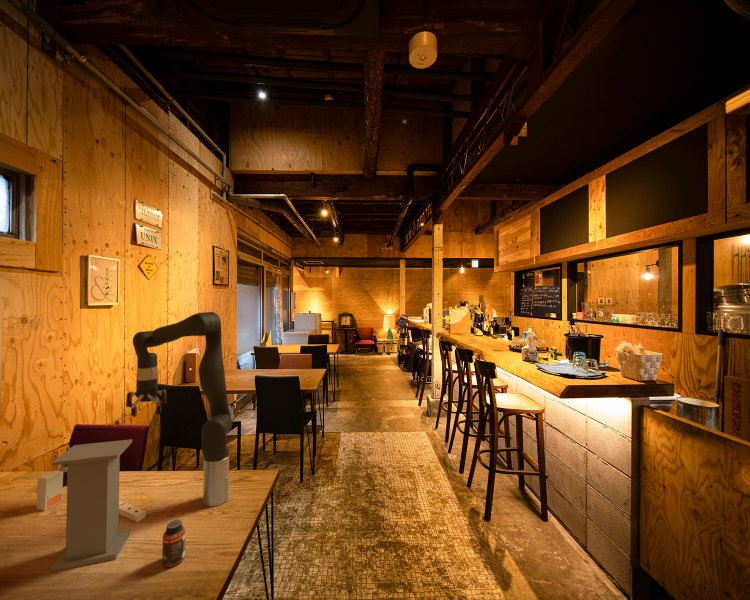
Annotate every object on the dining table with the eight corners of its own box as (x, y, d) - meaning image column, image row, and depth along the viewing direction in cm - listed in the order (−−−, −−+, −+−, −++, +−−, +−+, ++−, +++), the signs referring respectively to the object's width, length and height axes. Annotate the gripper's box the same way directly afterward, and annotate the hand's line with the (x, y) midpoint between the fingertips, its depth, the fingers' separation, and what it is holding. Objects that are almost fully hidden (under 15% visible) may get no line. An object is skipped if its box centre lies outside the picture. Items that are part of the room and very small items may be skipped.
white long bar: (106, 501, 131) (106, 494, 131) (145, 518, 121) (145, 510, 121) (97, 505, 128) (97, 499, 128) (137, 523, 118) (137, 515, 118)
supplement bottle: (189, 556, 103) (190, 519, 103) (172, 570, 97) (172, 532, 97) (175, 551, 105) (175, 515, 105) (157, 565, 99) (158, 527, 99)
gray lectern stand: (130, 533, 113) (132, 439, 113) (115, 559, 101) (117, 454, 101) (72, 543, 107) (74, 445, 108) (49, 572, 96) (51, 462, 96)
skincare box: (44, 511, 124) (45, 479, 124) (36, 509, 124) (36, 477, 124) (63, 501, 130) (63, 471, 130) (54, 500, 130) (55, 469, 130)
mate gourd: (69, 488, 139) (69, 452, 139) (50, 487, 139) (51, 452, 139) (85, 478, 146) (85, 444, 146) (67, 478, 146) (68, 444, 146)
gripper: (123, 380, 136) (123, 420, 136) (163, 378, 140) (163, 416, 140) (130, 376, 143) (130, 414, 143) (168, 374, 147) (168, 411, 147)
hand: (146, 415), depth 141 cm, fingers open, 8 cm apart
